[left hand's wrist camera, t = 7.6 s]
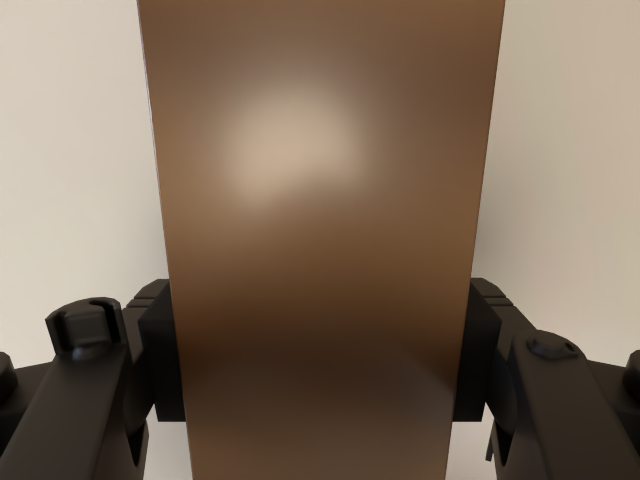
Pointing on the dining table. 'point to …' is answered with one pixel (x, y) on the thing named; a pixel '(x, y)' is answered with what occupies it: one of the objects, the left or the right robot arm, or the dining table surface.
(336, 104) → the brown wooden brick
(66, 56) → the dining table surface
